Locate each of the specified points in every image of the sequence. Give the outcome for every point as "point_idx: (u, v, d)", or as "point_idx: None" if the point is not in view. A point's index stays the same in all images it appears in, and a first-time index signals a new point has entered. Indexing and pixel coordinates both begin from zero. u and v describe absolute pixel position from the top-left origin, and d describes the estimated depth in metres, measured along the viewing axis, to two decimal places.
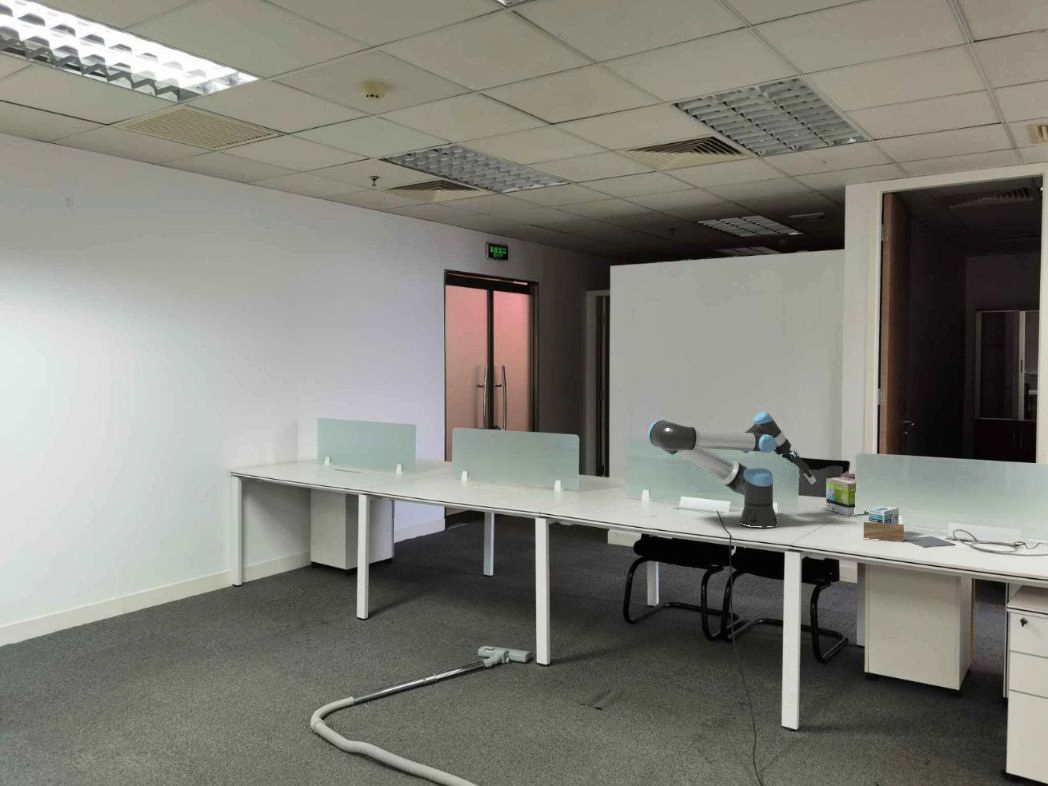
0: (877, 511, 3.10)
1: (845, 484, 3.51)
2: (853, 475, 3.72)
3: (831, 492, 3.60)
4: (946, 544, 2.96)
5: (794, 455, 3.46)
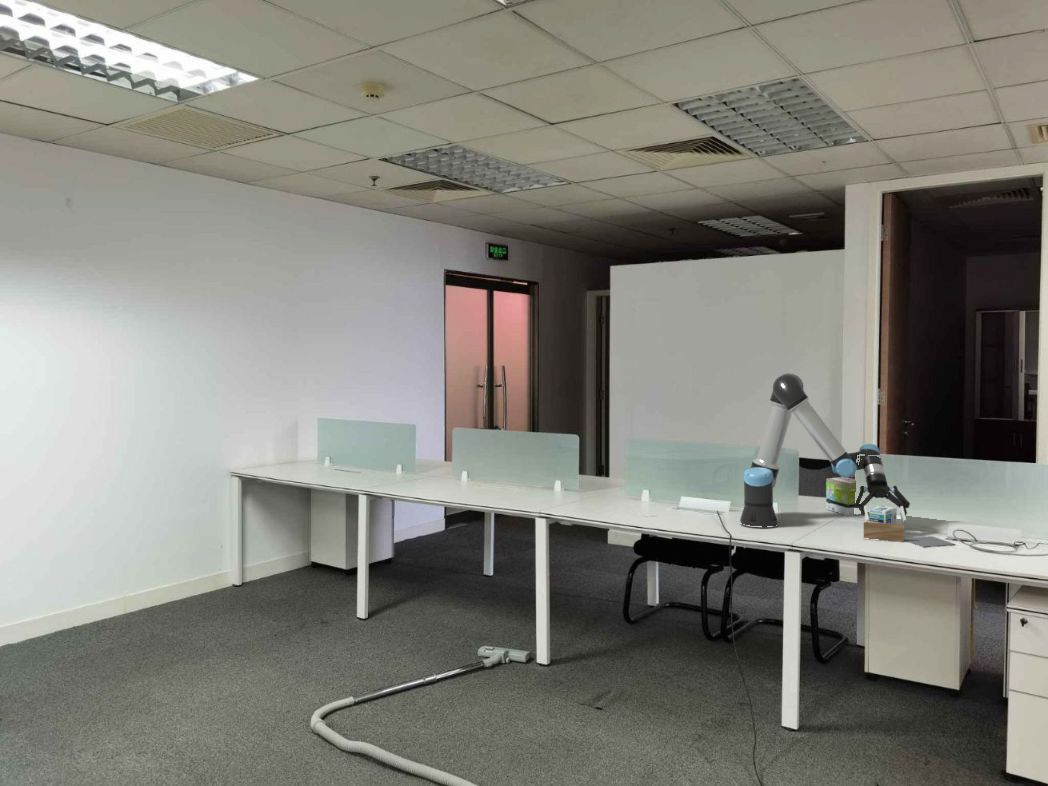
0: (878, 511, 3.10)
1: (845, 484, 3.51)
2: (853, 475, 3.72)
3: (831, 492, 3.60)
4: (946, 544, 2.96)
5: None
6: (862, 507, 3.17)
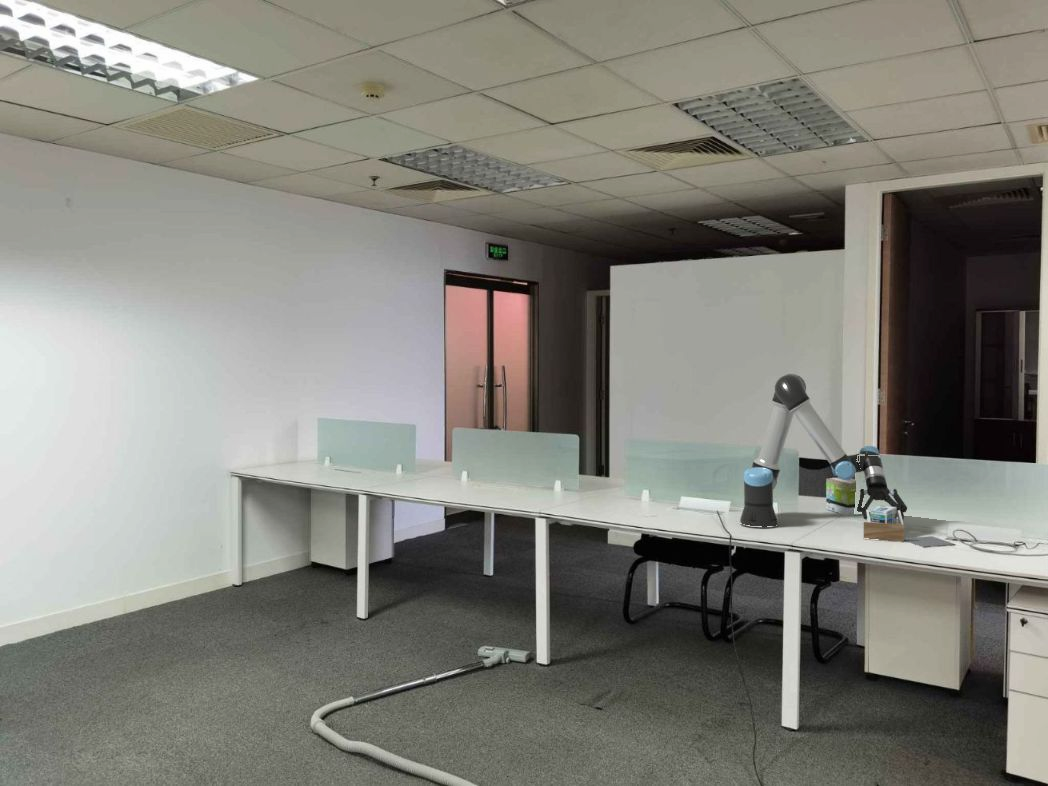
0: (879, 511, 3.09)
1: (845, 484, 3.51)
2: None
3: (831, 492, 3.60)
4: (946, 544, 2.96)
5: None
6: (864, 511, 3.16)
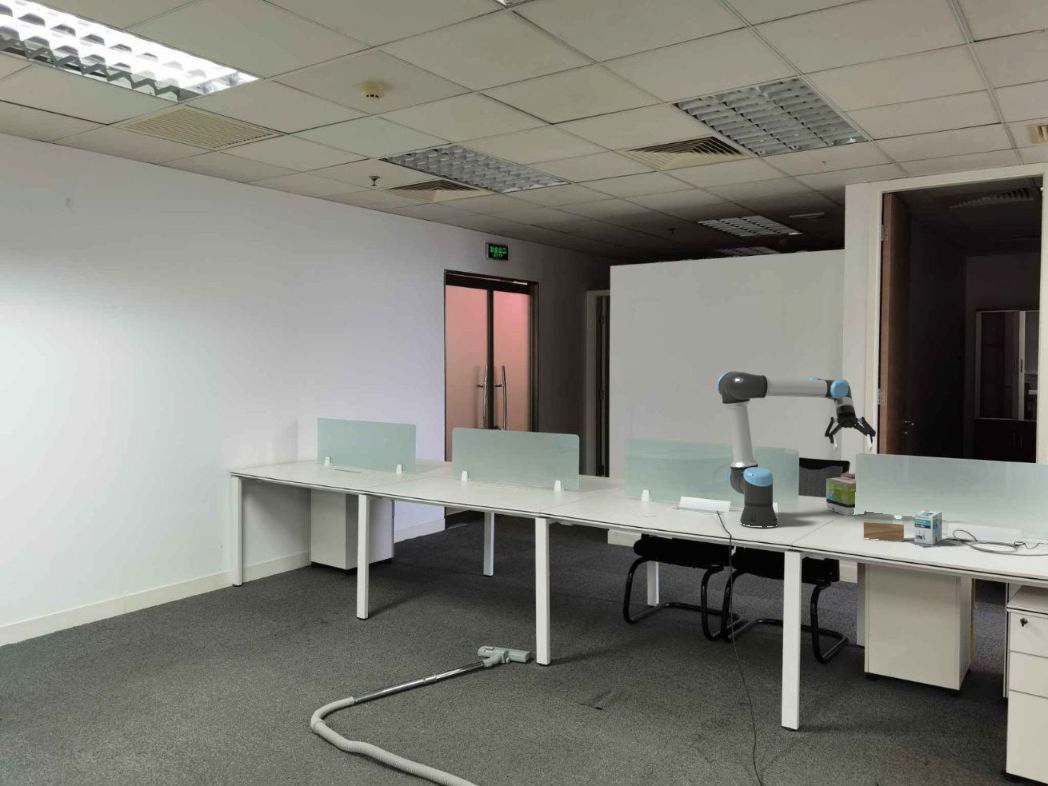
0: (924, 516, 2.97)
1: (845, 484, 3.51)
2: (853, 475, 3.72)
3: (831, 492, 3.60)
4: (946, 544, 2.96)
5: None
6: (831, 436, 3.37)
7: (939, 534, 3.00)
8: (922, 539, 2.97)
